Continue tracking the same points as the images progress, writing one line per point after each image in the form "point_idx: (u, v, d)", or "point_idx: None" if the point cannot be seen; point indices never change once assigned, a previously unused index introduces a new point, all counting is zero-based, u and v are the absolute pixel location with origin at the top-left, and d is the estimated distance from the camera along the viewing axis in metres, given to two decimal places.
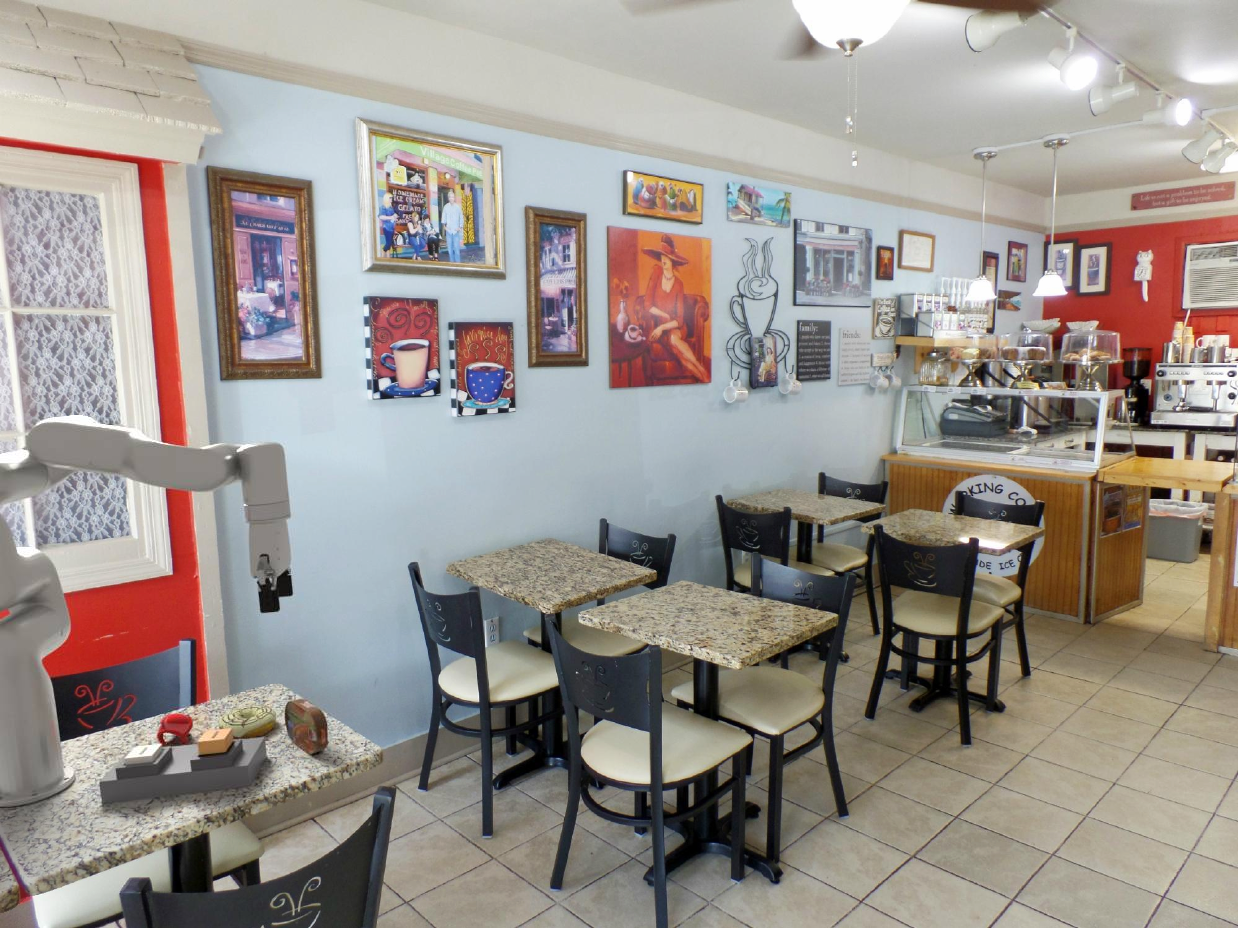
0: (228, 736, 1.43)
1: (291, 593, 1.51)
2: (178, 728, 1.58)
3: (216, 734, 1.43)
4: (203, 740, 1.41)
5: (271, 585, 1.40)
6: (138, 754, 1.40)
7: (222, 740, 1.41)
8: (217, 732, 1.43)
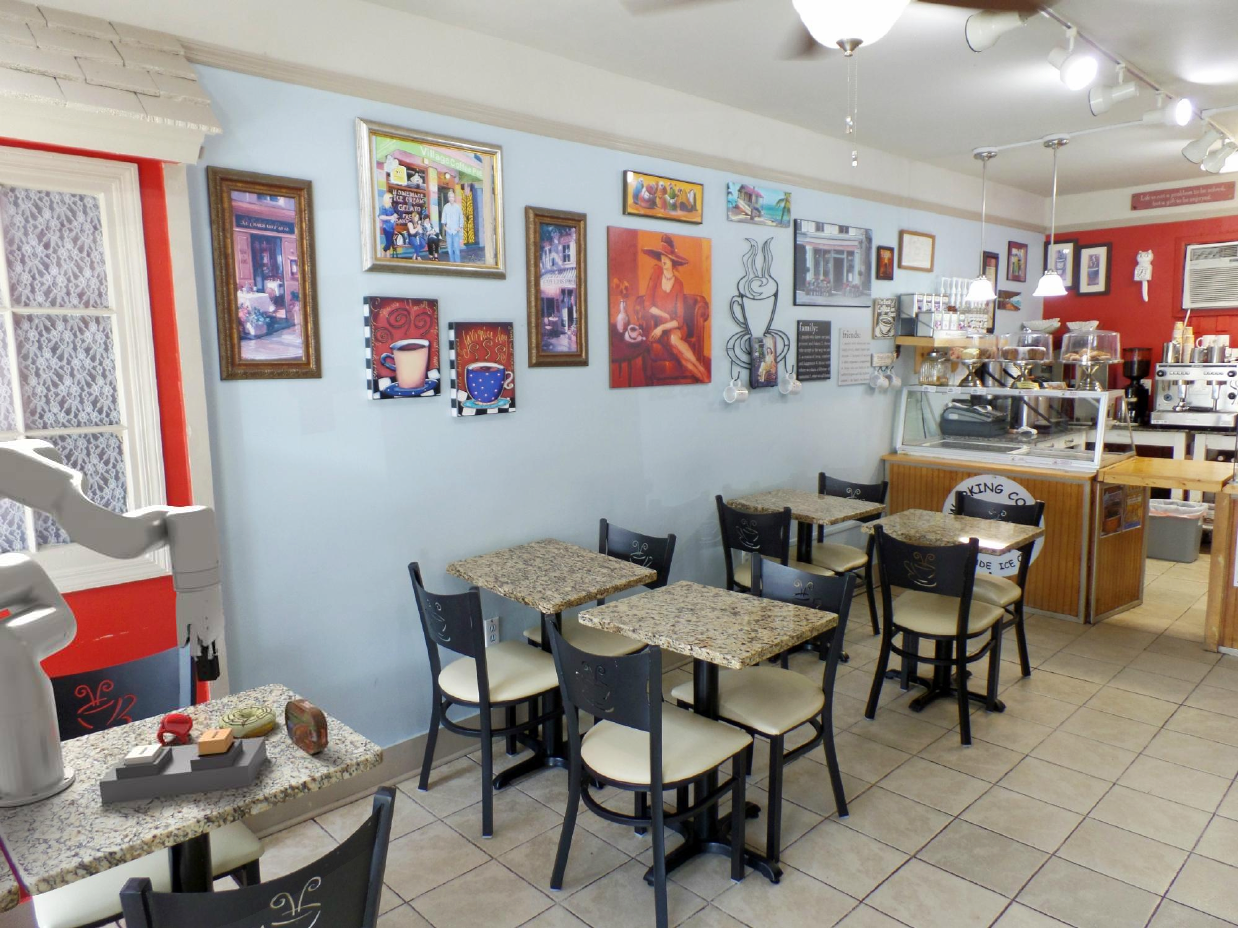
0: (228, 736, 1.43)
1: (218, 674, 1.42)
2: (178, 728, 1.57)
3: (216, 734, 1.43)
4: (203, 740, 1.41)
5: (208, 657, 1.39)
6: (138, 754, 1.40)
7: (222, 740, 1.41)
8: (217, 732, 1.43)
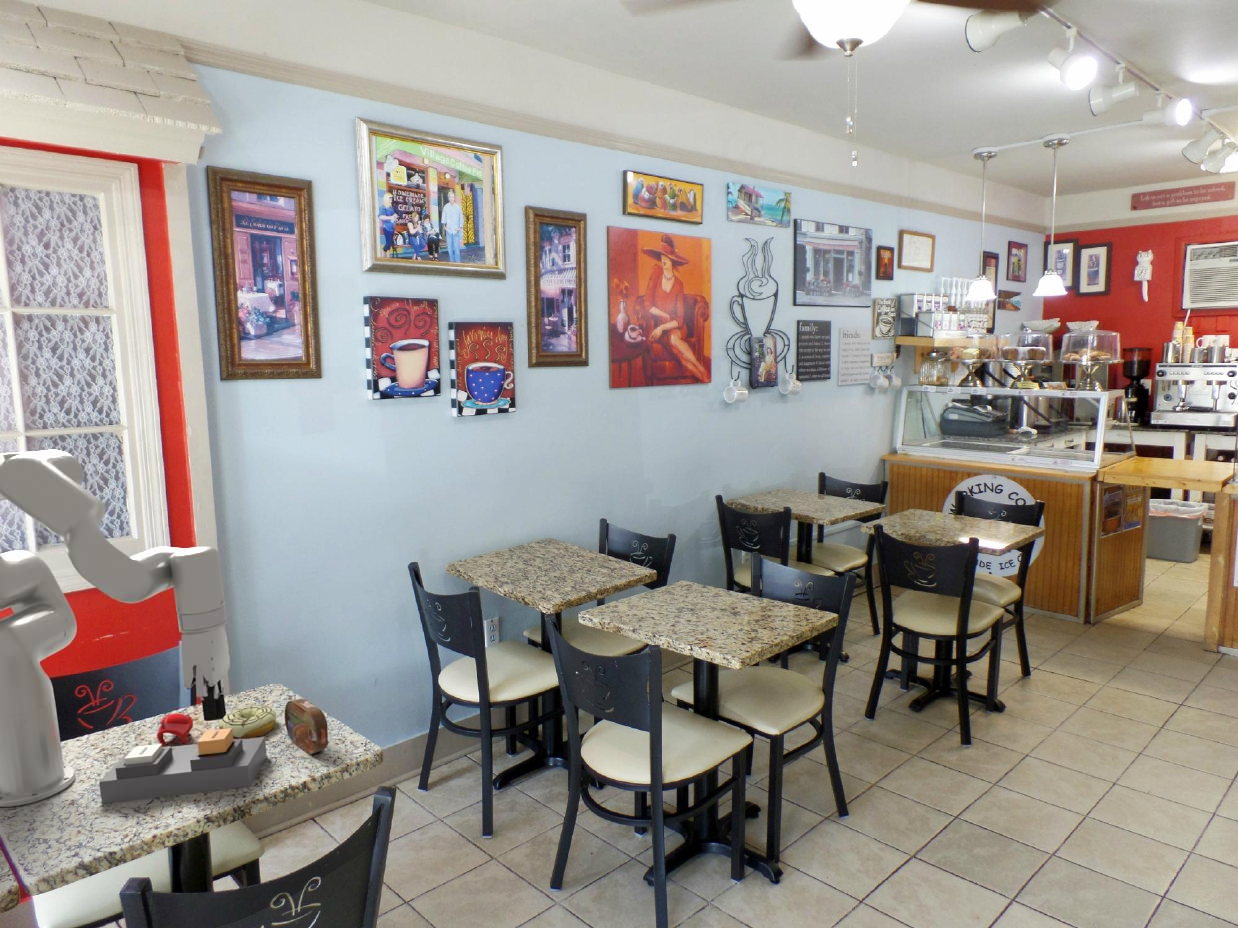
0: (228, 736, 1.43)
1: (224, 713, 1.43)
2: (178, 728, 1.58)
3: (216, 734, 1.43)
4: (203, 740, 1.41)
5: (214, 697, 1.40)
6: (138, 754, 1.40)
7: (222, 740, 1.41)
8: (217, 732, 1.43)
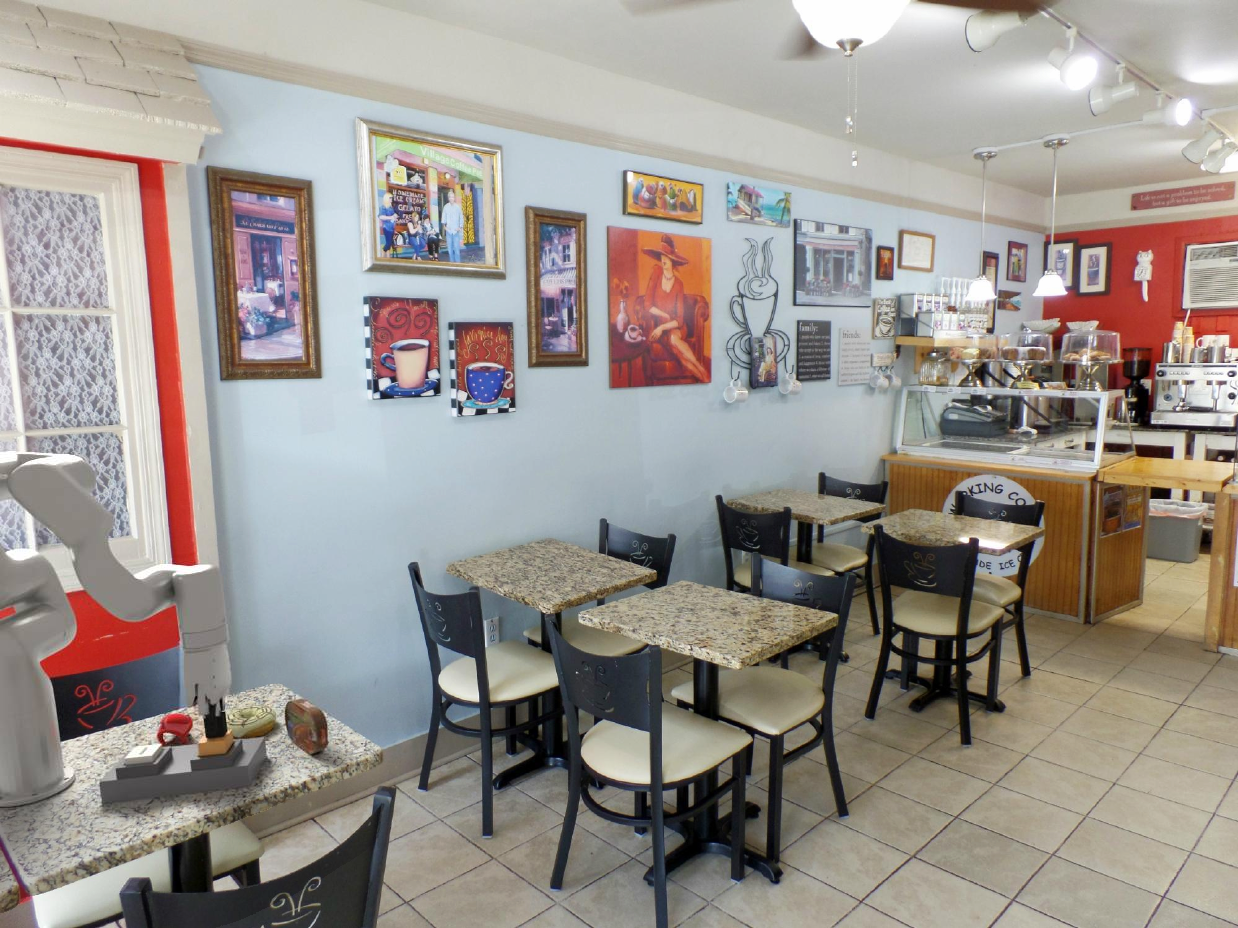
0: (228, 737, 1.43)
1: (225, 731, 1.43)
2: (178, 728, 1.57)
3: None
4: (203, 741, 1.41)
5: (216, 714, 1.40)
6: (138, 754, 1.40)
7: (222, 742, 1.41)
8: None
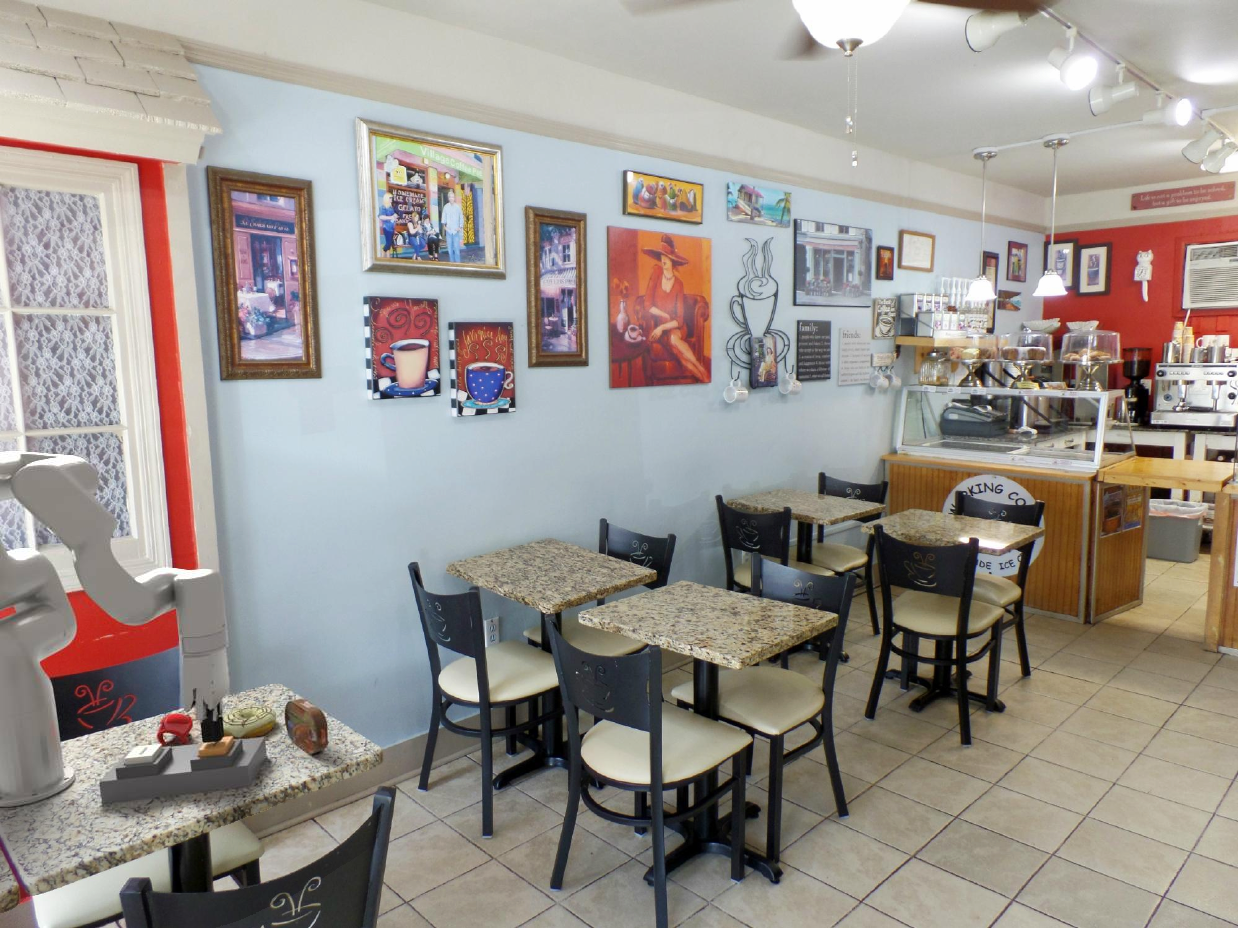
0: (229, 744, 1.43)
1: (222, 736, 1.43)
2: (178, 728, 1.57)
3: (217, 743, 1.43)
4: (204, 748, 1.41)
5: (213, 719, 1.41)
6: (138, 754, 1.40)
7: (223, 749, 1.41)
8: None
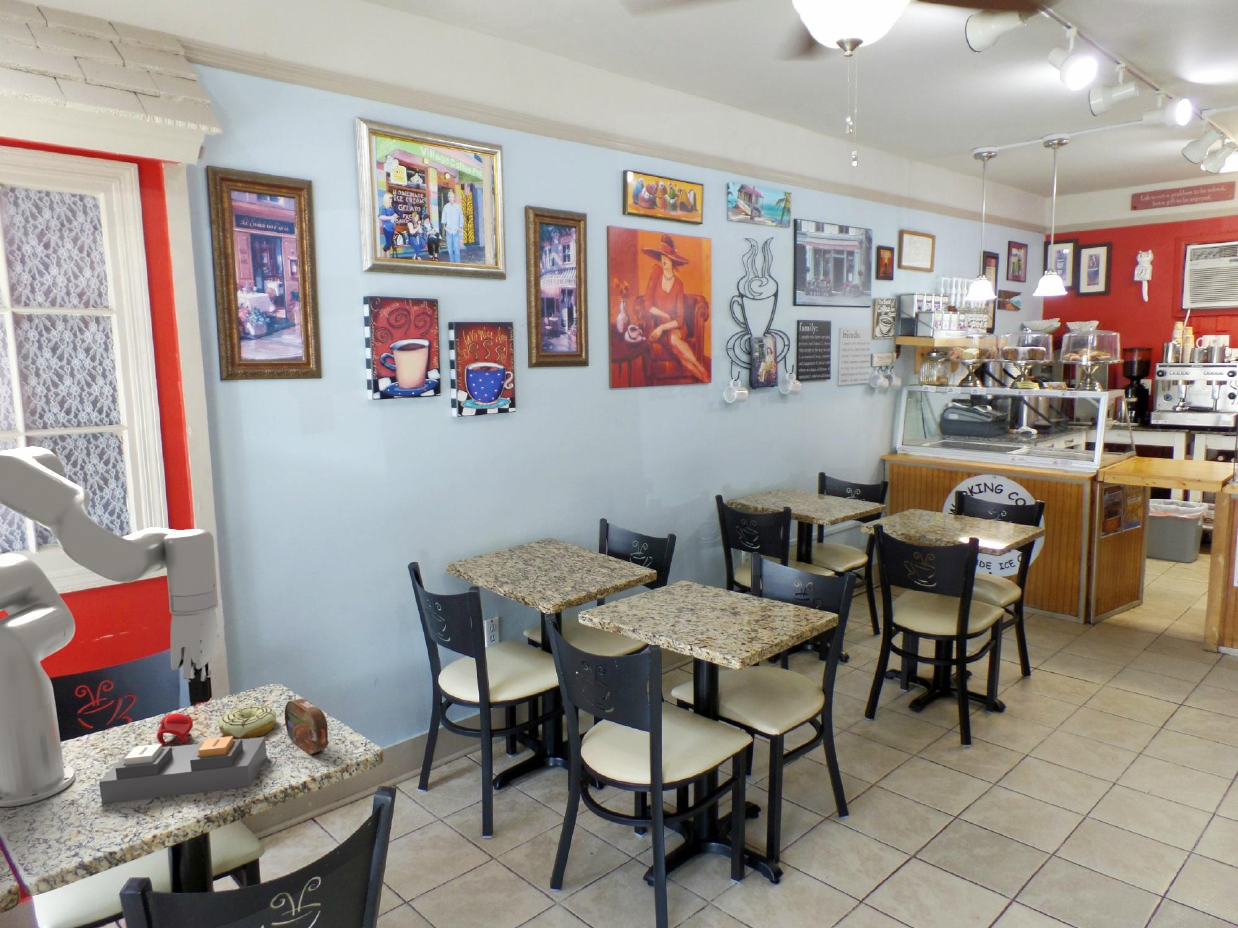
0: (229, 744, 1.43)
1: (209, 696, 1.43)
2: (178, 728, 1.57)
3: (217, 743, 1.43)
4: (204, 748, 1.41)
5: (201, 679, 1.41)
6: (138, 754, 1.40)
7: (223, 749, 1.41)
8: (218, 740, 1.44)
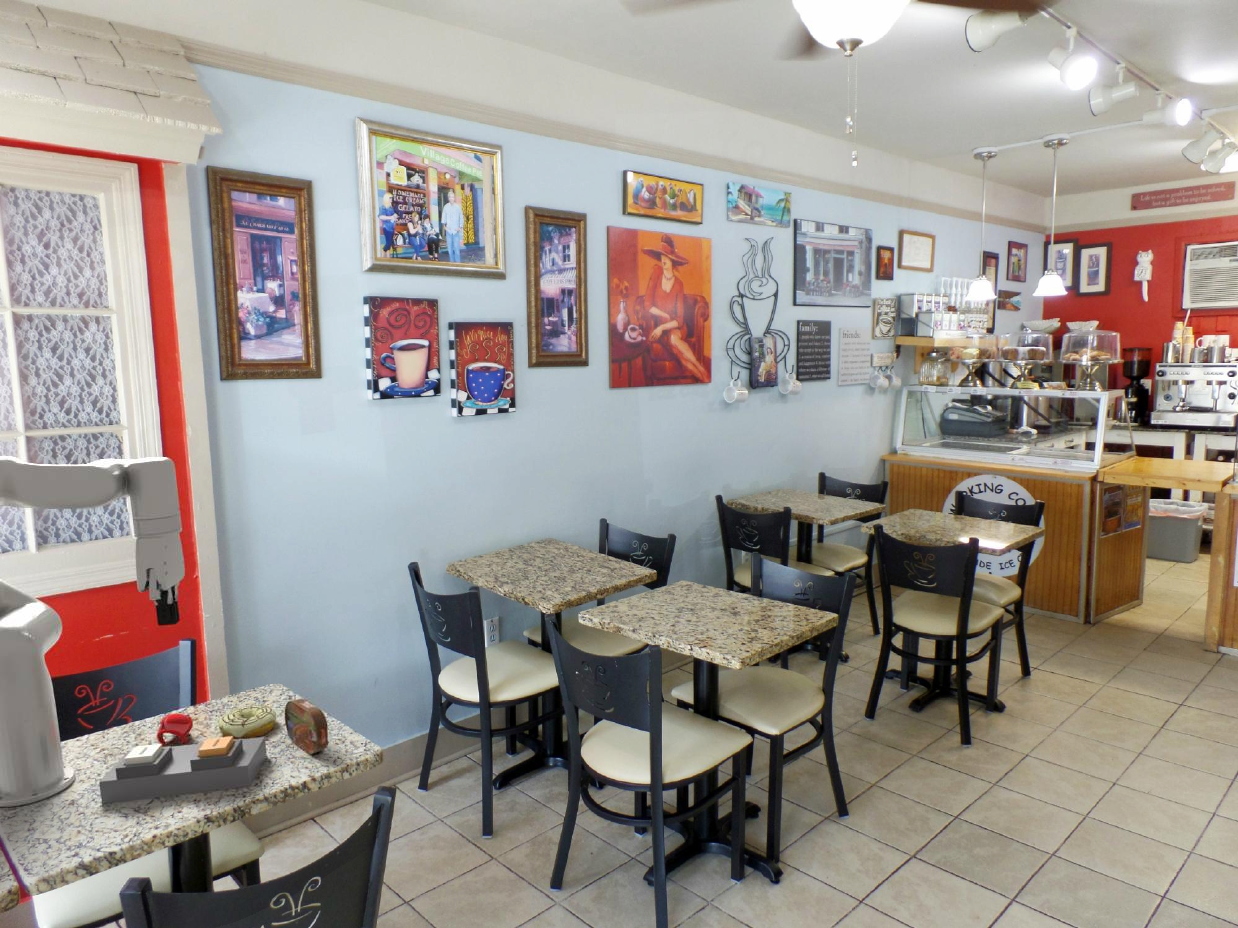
0: (229, 744, 1.43)
1: (177, 619, 1.48)
2: (178, 728, 1.57)
3: (217, 743, 1.43)
4: (204, 748, 1.41)
5: (167, 602, 1.46)
6: (138, 754, 1.40)
7: (223, 749, 1.41)
8: (218, 740, 1.44)
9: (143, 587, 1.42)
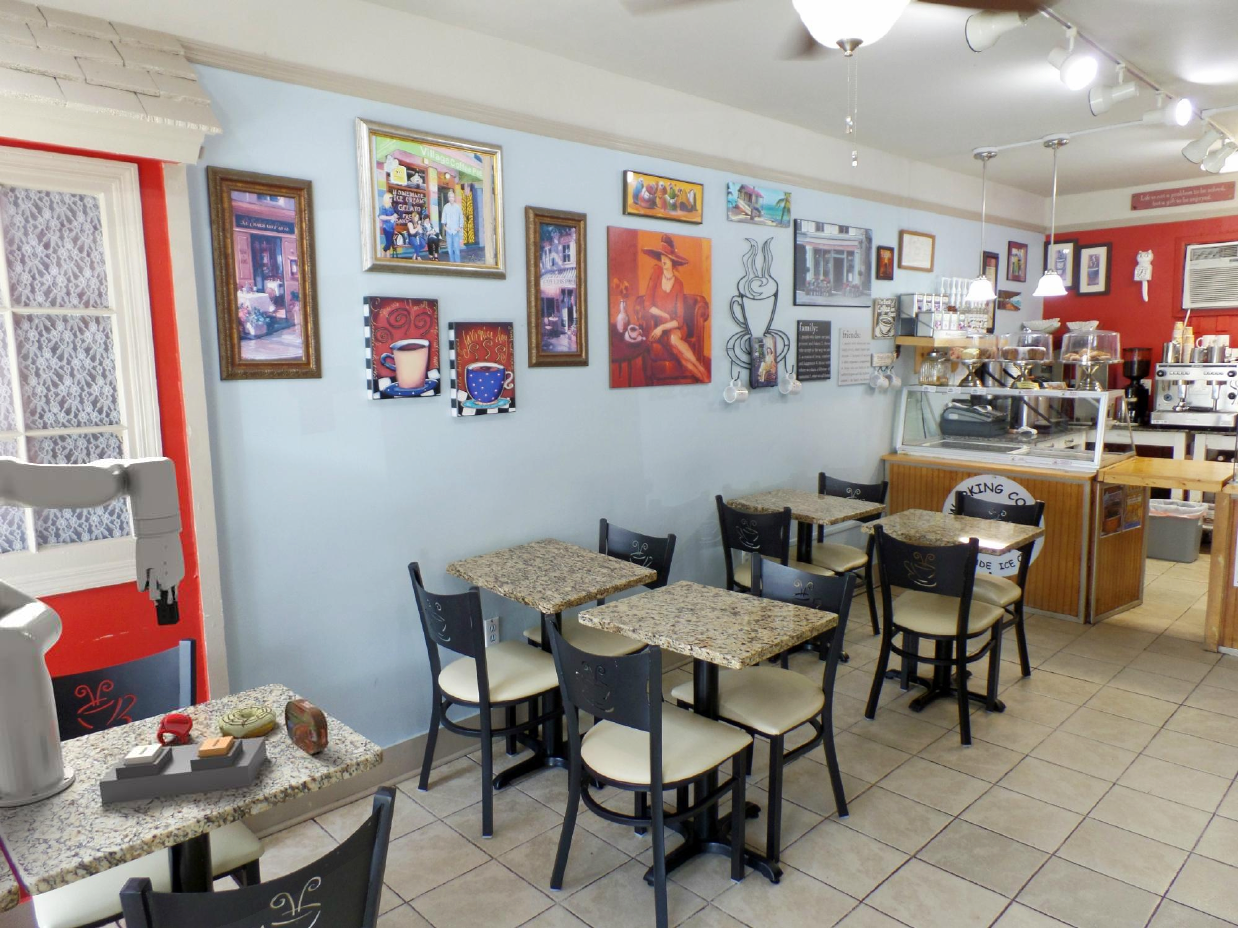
0: (229, 744, 1.43)
1: (177, 619, 1.48)
2: (178, 728, 1.57)
3: (217, 743, 1.43)
4: (204, 748, 1.41)
5: (167, 602, 1.46)
6: (138, 754, 1.40)
7: (223, 749, 1.41)
8: (218, 740, 1.44)
9: (143, 587, 1.42)
